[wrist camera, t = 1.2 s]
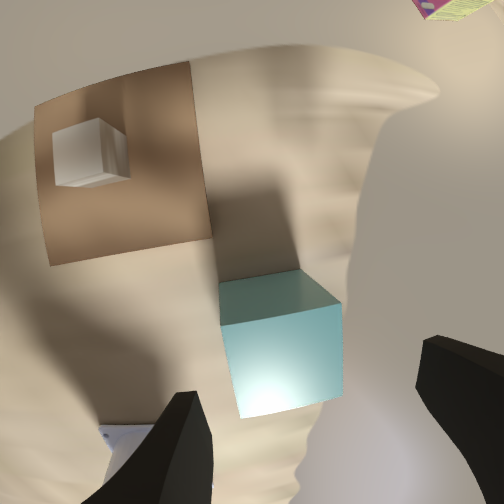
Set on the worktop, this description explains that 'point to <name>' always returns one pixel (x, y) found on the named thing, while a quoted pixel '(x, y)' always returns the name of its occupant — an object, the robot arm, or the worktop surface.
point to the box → (448, 8)
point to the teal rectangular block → (281, 342)
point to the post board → (152, 165)
